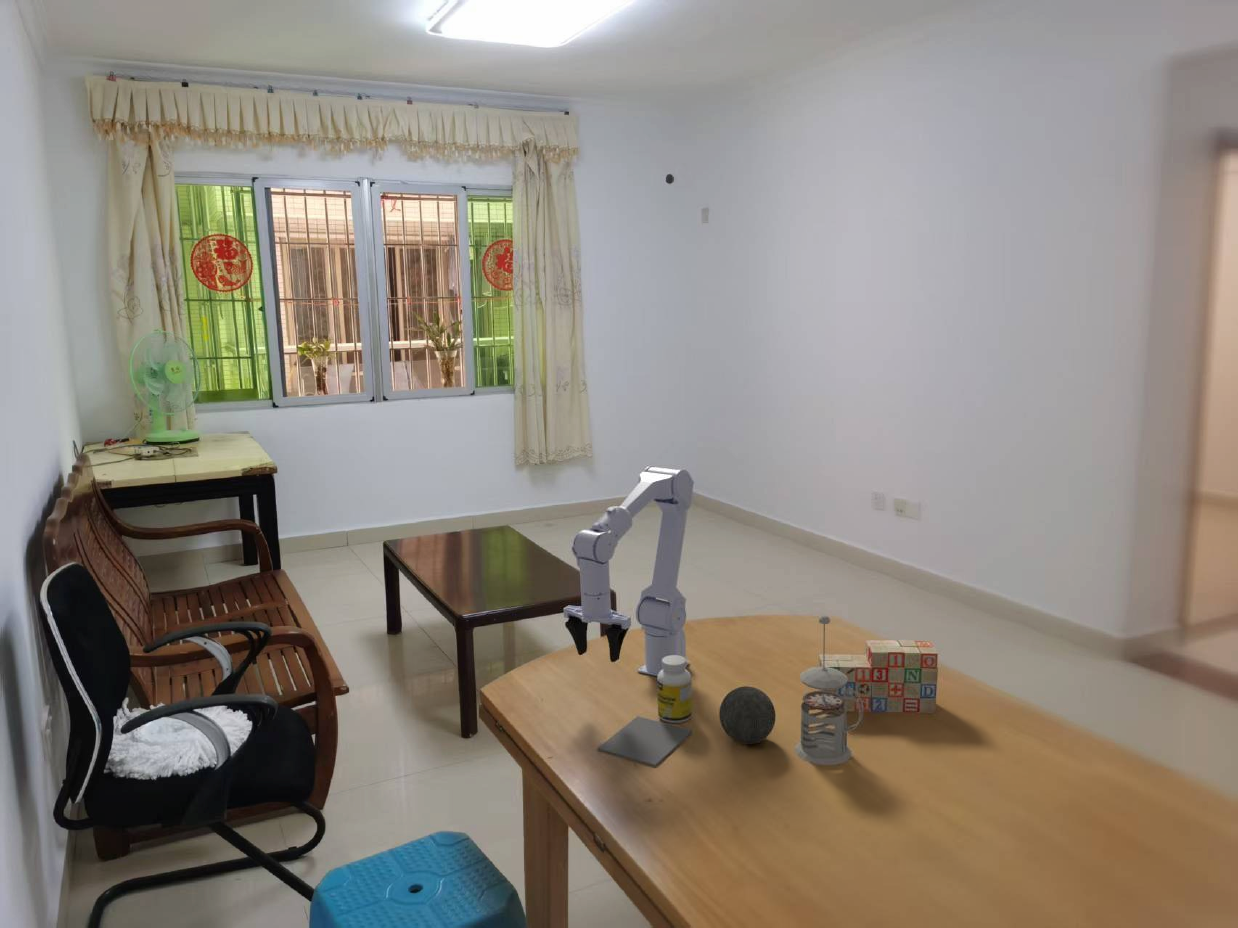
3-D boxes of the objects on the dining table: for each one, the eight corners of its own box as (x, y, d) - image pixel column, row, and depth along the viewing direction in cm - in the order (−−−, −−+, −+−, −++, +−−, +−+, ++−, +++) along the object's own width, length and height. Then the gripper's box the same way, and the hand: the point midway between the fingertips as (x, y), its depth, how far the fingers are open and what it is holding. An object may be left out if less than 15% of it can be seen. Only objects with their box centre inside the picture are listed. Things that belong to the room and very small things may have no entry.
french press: (805, 732, 163) (806, 602, 158) (869, 747, 157) (871, 612, 153) (786, 756, 155) (786, 620, 150) (852, 773, 149) (855, 631, 144)
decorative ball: (770, 757, 155) (770, 704, 153) (714, 750, 158) (713, 697, 156) (779, 731, 164) (779, 680, 162) (726, 724, 167) (725, 674, 165)
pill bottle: (653, 712, 173) (651, 656, 171) (683, 706, 175) (682, 650, 173) (666, 727, 167) (665, 669, 165) (697, 720, 169) (696, 663, 167)
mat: (637, 718, 171) (637, 716, 171) (693, 732, 165) (693, 730, 164) (597, 750, 159) (597, 748, 159) (655, 766, 153) (655, 764, 153)
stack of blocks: (821, 711, 171) (822, 651, 169) (818, 697, 177) (818, 639, 175) (936, 713, 169) (938, 652, 167) (928, 698, 175) (930, 639, 173)
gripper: (553, 591, 173) (556, 657, 176) (616, 602, 166) (619, 671, 168) (573, 581, 179) (576, 644, 182) (635, 591, 171) (638, 657, 174)
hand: (598, 656), depth 175 cm, fingers open, 7 cm apart
